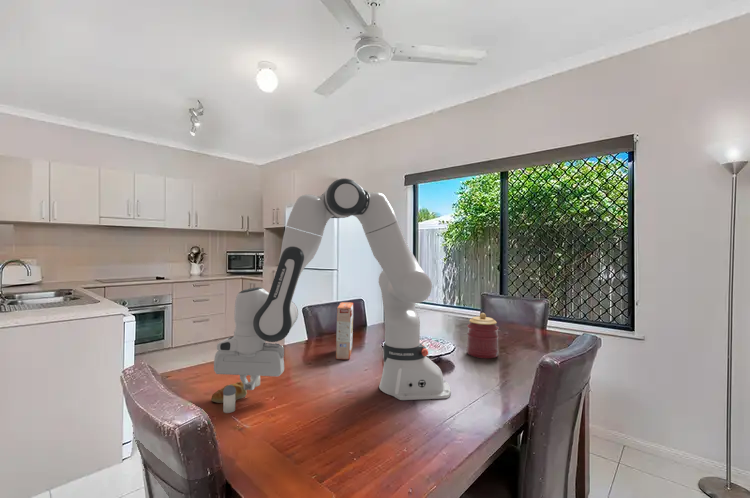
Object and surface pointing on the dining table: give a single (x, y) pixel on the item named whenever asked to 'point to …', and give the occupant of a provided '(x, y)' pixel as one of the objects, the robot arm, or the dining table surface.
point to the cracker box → (344, 330)
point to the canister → (482, 337)
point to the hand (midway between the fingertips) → (249, 389)
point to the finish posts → (232, 396)
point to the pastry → (238, 395)
